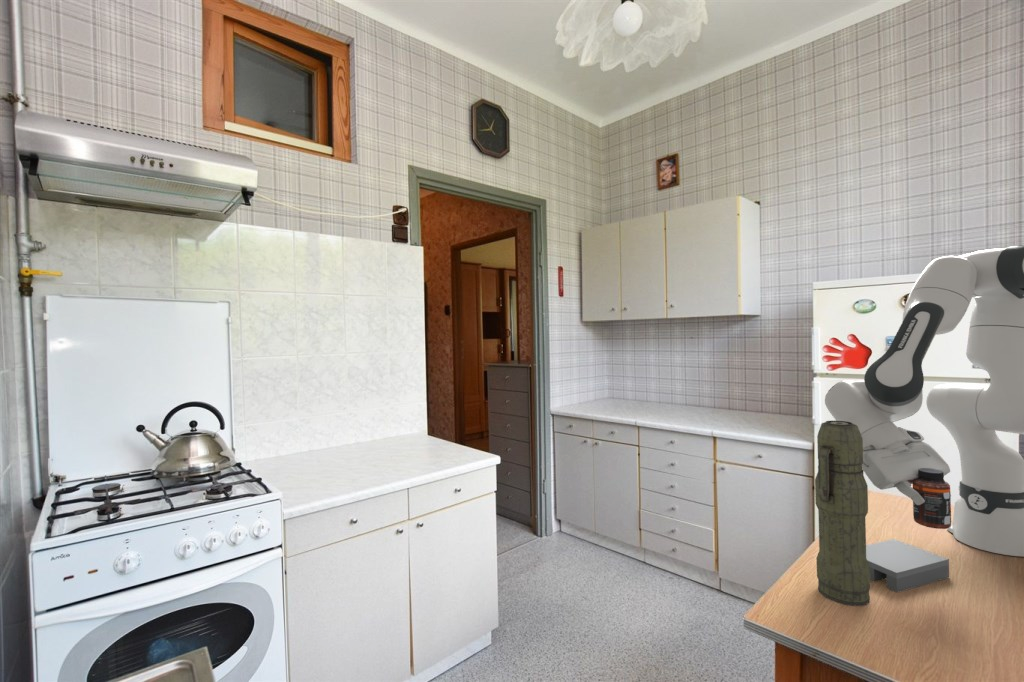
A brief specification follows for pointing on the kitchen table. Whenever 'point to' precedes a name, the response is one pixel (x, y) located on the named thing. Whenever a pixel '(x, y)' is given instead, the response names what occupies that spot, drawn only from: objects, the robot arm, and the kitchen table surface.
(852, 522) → the thermos
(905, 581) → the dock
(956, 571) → the kitchen table surface
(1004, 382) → the robot arm
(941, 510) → the supplement bottle
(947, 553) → the kitchen table surface
